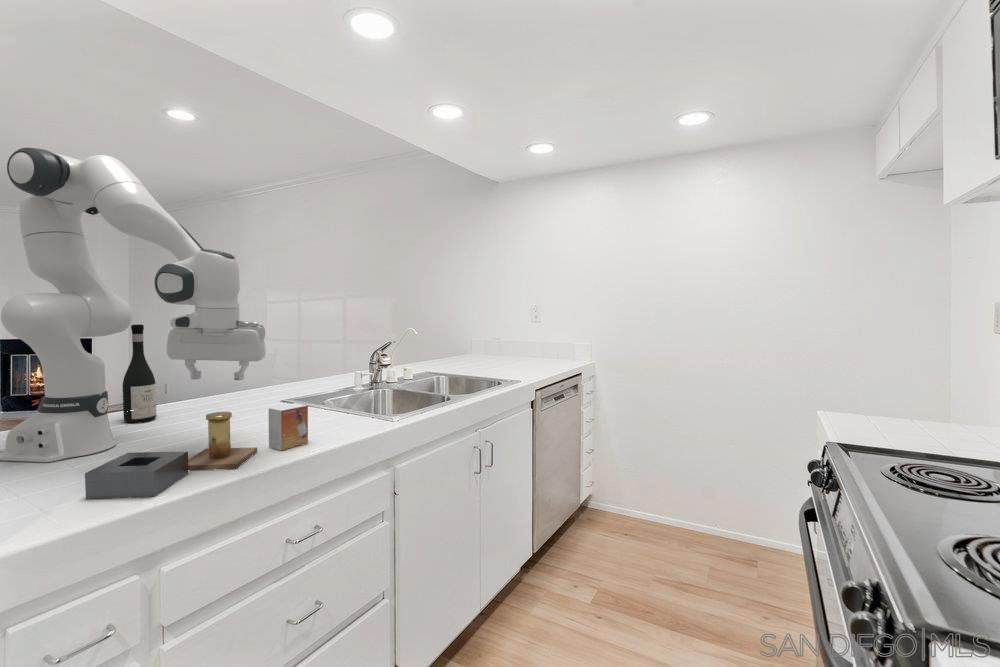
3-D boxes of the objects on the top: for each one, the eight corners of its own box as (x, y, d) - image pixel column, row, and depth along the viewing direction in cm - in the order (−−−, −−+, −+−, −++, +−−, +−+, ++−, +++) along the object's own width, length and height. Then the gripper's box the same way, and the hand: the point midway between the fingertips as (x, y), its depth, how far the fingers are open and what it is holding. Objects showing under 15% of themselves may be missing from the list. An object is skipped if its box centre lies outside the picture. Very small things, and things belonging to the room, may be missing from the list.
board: (178, 470, 102) (178, 465, 102) (206, 453, 114) (205, 448, 114) (236, 469, 103) (236, 464, 103) (257, 452, 115) (257, 447, 115)
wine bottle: (162, 419, 145) (159, 324, 143) (134, 425, 137) (131, 325, 136) (145, 416, 148) (142, 323, 146) (117, 422, 140) (114, 324, 138)
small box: (281, 451, 116) (280, 410, 115) (268, 447, 119) (267, 407, 118) (308, 443, 123) (308, 405, 122) (296, 440, 126) (295, 402, 125)
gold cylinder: (202, 459, 105) (201, 417, 105) (213, 452, 111) (212, 411, 110) (226, 459, 106) (225, 416, 105) (236, 452, 111) (235, 411, 111)
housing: (85, 499, 87) (84, 473, 86) (128, 475, 99) (127, 452, 98) (154, 496, 88) (154, 471, 88) (188, 473, 100) (187, 451, 100)
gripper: (269, 321, 111) (269, 378, 112) (178, 318, 108) (178, 376, 109) (259, 322, 105) (259, 382, 106) (162, 319, 102) (162, 380, 103)
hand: (217, 379), depth 107 cm, fingers open, 8 cm apart
